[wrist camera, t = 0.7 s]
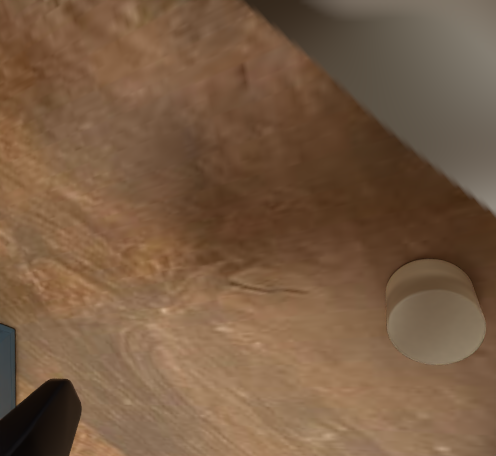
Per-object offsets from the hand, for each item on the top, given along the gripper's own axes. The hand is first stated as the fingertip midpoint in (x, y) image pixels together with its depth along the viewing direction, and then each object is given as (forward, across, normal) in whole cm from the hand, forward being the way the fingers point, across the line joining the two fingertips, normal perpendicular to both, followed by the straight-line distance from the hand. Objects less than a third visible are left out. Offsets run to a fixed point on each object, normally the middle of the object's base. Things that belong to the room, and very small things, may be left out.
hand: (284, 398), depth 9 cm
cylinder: (+10, -5, +6) cm, 13 cm away
